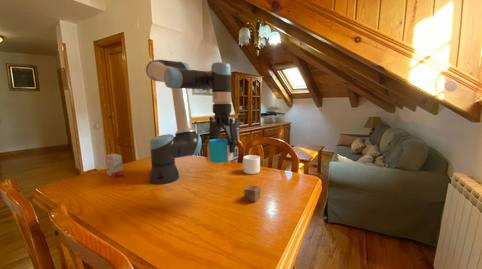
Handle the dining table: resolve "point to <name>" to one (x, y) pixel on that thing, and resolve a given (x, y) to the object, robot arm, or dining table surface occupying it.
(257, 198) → the walnut cube
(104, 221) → the dining table surface
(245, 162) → the mug
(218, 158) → the mug
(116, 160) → the ink box
